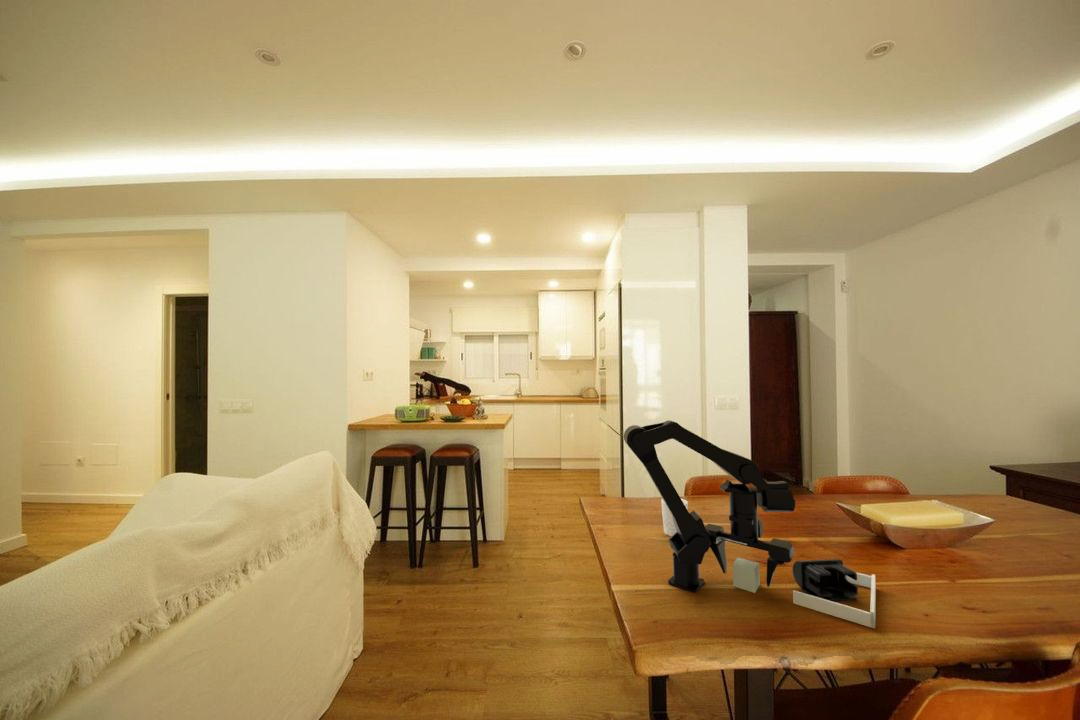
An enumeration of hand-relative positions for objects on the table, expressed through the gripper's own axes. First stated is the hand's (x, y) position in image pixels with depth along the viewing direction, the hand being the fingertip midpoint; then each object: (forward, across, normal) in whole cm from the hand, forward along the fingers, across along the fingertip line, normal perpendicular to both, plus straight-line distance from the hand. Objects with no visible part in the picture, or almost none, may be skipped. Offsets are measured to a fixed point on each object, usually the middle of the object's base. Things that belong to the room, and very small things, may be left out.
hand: (746, 579), depth 90 cm
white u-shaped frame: (+1, -16, -8) cm, 18 cm away
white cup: (+2, +25, -20) cm, 32 cm away
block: (+2, 0, 0) cm, 2 cm away
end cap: (+2, -14, -8) cm, 16 cm away
